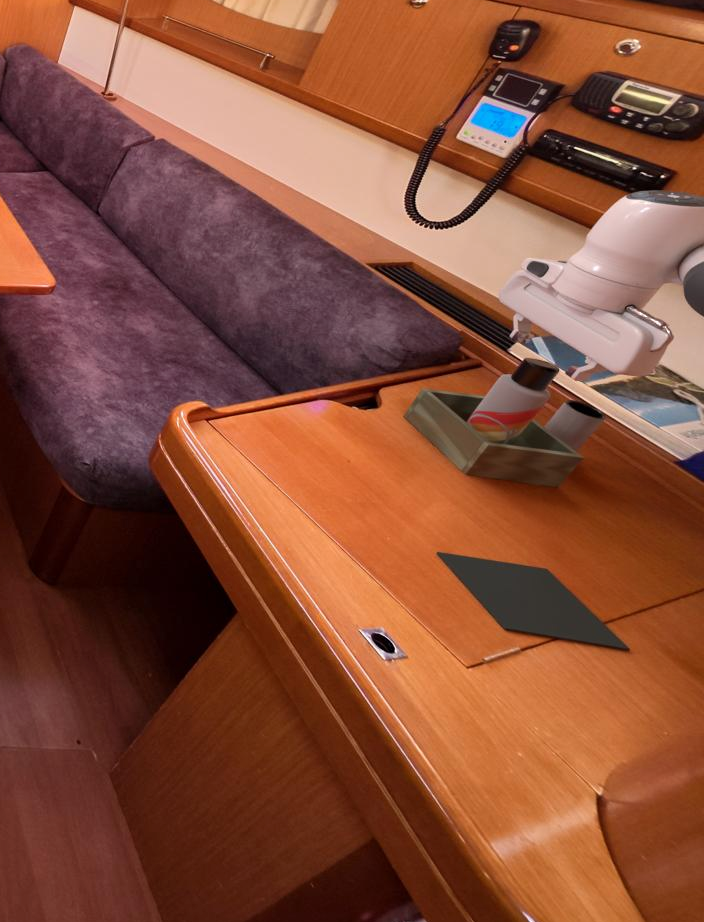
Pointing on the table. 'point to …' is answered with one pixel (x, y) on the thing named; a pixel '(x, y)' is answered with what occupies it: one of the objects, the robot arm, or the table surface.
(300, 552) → the table surface
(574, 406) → the planter
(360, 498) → the table surface
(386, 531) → the table surface
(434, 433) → the basket
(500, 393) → the striped water bottle
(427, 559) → the table surface
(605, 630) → the mat
